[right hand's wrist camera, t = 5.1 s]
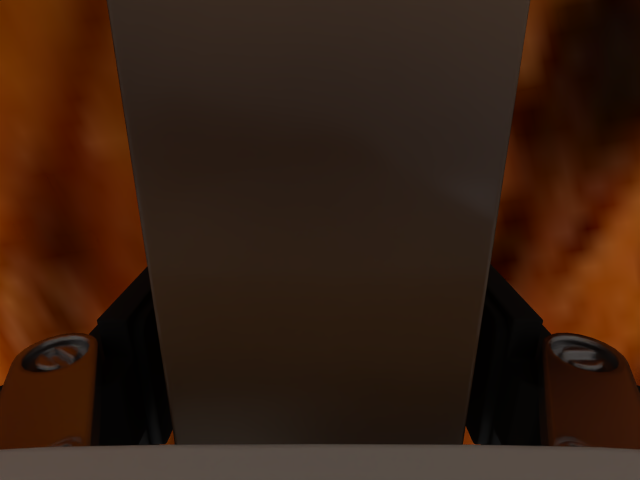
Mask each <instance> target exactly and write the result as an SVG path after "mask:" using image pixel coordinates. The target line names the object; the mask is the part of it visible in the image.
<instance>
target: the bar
mask: <svg viewBox="0 0 640 480" xmlns="http://www.w3.org/2000/svg"><path fill="white" fill-rule="evenodd" d="M529 5H530V0H107V6H108V12H109V19H110V25H111V32H112V38H113V45H114V51H115V58H116V64H117V71H118V77H119V84H120V90H121V97H122V103H123V110H124V116H125V123H126V129H127V136H128V142H129V149H130V155H131V162H132V168H133V175H134V181H135V188H136V194H137V201H138V207H139V214H140V220H141V226H142V233H143V239H144V246H145V252H146V259H147V265H148V272H149V278H150V285H151V291H152V298H153V304H154V311H155V317H156V324H157V330H158V337H159V343H160V350H161V356H162V363H163V369H164V376H165V382H166V389H167V395H168V402H169V408H170V415H171V421H172V428H173V434H174V441H175V445H241V444H399V445H463V439H464V433H465V426H466V420H467V413H468V407H469V400H470V393H471V387H472V380H473V374H474V367H475V360H476V354H477V347H478V341H479V334H480V327H481V321H482V314H483V308H484V301H485V295H486V288H487V281H488V275H489V268H490V262H491V255H492V248H493V242H494V235H495V229H496V222H497V215H498V209H499V202H500V196H501V189H502V182H503V176H504V169H505V163H506V156H507V150H508V143H509V136H510V130H511V123H512V117H513V110H514V103H515V97H516V90H517V84H518V77H519V70H520V64H521V57H522V51H523V44H524V38H525V31H526V24H527V18H528V11H529Z"/></svg>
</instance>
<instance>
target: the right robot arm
mask: <svg viewBox="0 0 640 480" xmlns="http://www.w3.org/2000/svg"><path fill="white" fill-rule="evenodd" d="M97 323H98V325H97V326H96V327H95V328H94V329H93V330H92V331H91V333H90V334H89V335H88V334H84V333H68V334H60V335H57V336H53V337H49V338H46V339H44V340H41V341H39V342H36V343H34V344H33V345H31V346H29V347H27V348H25V349H24V350H23V351H22V352H21V353H19V354H18V355H17V356H16V357H15V359H14V360H13V362H12V364H11V366H10V369H9V372H8V374H7V377H6V379H5V382H4V385H2V386H0V480H640V386H638V385H636V382H635V379H634V377H633V374H632V372H631V369H630V366H629V364H628V362H627V360H626V359H625V357H624V356H623V355H622V354H621V353H619V352H618V351H617V350H616V349H615V348H613V347H611V346H609V345H607V344H606V343H604V342H601V341H599V340H596V339H594V338H591V337H587V336H583V335H579V334H572V333H556V334H552V335H551V334H550V333H549V331H548V330H547V329H546V328H545V327H544V326H543V325H542V323H543V320H542V319H541V317H540V316H539V315H538V314H537V313H536V312H535V311H534V310H533V309H532V308H531V307H530V306H529V305H528V304H527V303H526V302H525V300H524V299H523V298H522V297H521V296H520V295H519V294H518V293H517V292H516V291H515V290H514V289H513V288H512V287H511V286H510V285H509V283H508V282H507V281H506V280H505V279H504V278H503V277H502V276H501V275H500V274H499V273H498V272H497V271H496V270H495V269H494V267H493V266H492V265H491V264H490V268H489V275H488V281H487V288H486V295H485V301H484V308H483V314H482V321H481V327H480V334H479V341H478V347H477V354H476V360H475V367H474V374H473V380H472V387H471V393H470V400H469V407H468V413H467V420H466V427H467V430H468V432H469V434H470V437H471V439H472V441H473V443H474V444H481V445H399V444H241V445H159V444H166V443H167V441H168V439H169V437H170V434H171V432H172V430H173V428H172V421H171V415H170V408H169V402H168V395H167V389H166V382H165V376H164V369H163V363H162V356H161V350H160V343H159V337H158V330H157V324H156V317H155V311H154V304H153V298H152V291H151V285H150V278H149V272H148V266H147V267H146V269H145V270H144V271H143V272H142V273H141V274H140V275H139V276H138V277H137V278H136V279H135V280H134V281H133V282H132V283H131V284H130V286H129V287H128V288H127V289H126V290H125V291H124V292H123V293H122V294H121V295H120V296H119V297H118V298H117V299H116V300H115V302H114V303H113V304H112V305H111V306H110V307H109V308H108V309H107V310H106V311H105V312H104V313H103V314H102V315H101V316H100V317H99V319H98V320H97Z"/></svg>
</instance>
